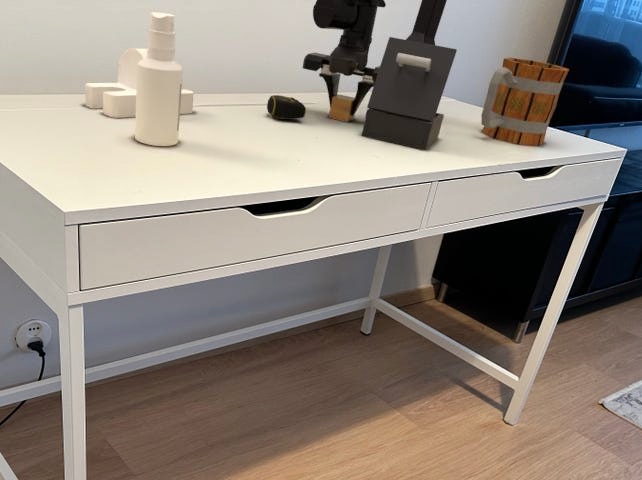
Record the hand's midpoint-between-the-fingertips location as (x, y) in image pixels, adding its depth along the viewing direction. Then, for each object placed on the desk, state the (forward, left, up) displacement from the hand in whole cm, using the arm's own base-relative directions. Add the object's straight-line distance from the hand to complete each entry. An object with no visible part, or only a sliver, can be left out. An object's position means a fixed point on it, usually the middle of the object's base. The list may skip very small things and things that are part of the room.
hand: (342, 113), depth 138 cm
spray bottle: (+49, -11, -1) cm, 50 cm away
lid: (+7, +15, +10) cm, 19 cm away
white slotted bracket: (+34, -26, -1) cm, 43 cm away
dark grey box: (+4, +15, -1) cm, 15 cm away
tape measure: (+12, -7, -1) cm, 14 cm away
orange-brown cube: (0, 0, -1) cm, 1 cm away
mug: (-21, +30, -1) cm, 37 cm away
